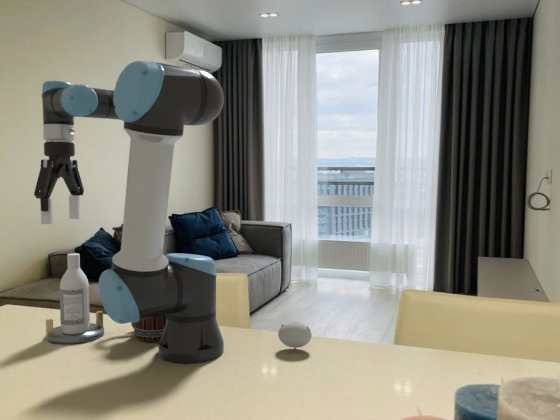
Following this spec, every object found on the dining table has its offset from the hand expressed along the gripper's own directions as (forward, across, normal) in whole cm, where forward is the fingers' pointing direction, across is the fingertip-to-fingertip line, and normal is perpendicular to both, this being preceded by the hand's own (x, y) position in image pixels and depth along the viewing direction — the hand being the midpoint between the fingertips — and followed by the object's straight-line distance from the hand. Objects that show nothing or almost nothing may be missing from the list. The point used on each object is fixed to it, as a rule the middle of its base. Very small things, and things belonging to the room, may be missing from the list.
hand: (61, 221), depth 141 cm
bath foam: (+28, -7, -7) cm, 29 cm away
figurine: (+29, -9, -64) cm, 71 cm away
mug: (+29, -3, -25) cm, 38 cm away
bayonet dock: (+29, -7, -7) cm, 30 cm away
